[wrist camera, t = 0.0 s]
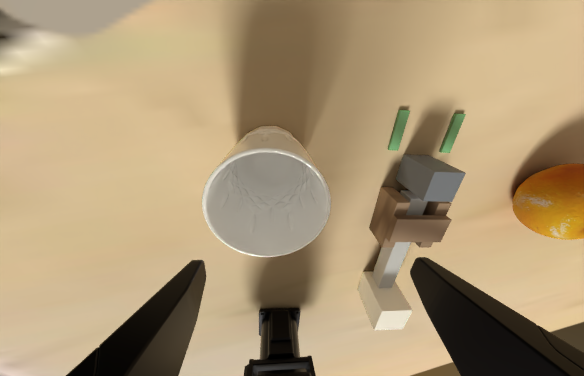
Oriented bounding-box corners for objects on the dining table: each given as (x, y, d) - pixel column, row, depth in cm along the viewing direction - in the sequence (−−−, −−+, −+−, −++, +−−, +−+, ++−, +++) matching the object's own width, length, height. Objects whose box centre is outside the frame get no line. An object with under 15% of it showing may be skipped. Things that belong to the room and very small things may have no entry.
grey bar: (381, 289, 33) (402, 328, 28) (357, 289, 33) (374, 330, 27) (420, 187, 25) (461, 216, 20) (389, 187, 24) (421, 216, 19)
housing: (415, 228, 28) (439, 252, 24) (365, 228, 27) (381, 252, 23) (463, 113, 21) (506, 121, 17) (398, 109, 20) (428, 116, 17)
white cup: (308, 117, 20) (335, 145, 11) (307, 189, 24) (327, 253, 15) (225, 120, 20) (186, 151, 11) (237, 193, 23) (215, 261, 14)
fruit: (501, 224, 24) (630, 256, 18) (525, 151, 23) (666, 159, 17) (506, 226, 29) (606, 251, 23) (526, 168, 29) (633, 178, 23)
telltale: (419, 180, 24) (452, 201, 20) (395, 179, 24) (422, 201, 20) (428, 155, 23) (465, 172, 19) (403, 154, 23) (434, 171, 18)
